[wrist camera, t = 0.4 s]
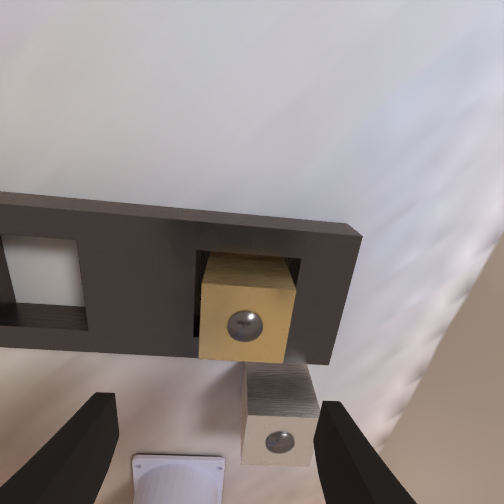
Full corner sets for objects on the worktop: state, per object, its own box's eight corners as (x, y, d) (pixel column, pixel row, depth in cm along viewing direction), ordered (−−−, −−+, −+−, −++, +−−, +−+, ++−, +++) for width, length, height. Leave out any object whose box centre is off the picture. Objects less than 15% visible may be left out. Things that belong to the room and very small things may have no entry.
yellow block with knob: (272, 310, 20) (283, 364, 15) (208, 306, 19) (198, 360, 15) (282, 251, 18) (296, 291, 13) (211, 245, 18) (201, 284, 13)
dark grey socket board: (319, 340, 21) (328, 365, 19) (-28, 319, 19) (-63, 343, 17) (347, 223, 17) (362, 236, 15) (-70, 184, 16) (-121, 192, 13)
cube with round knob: (295, 400, 23) (309, 468, 18) (240, 398, 23) (240, 466, 18) (304, 357, 21) (323, 419, 17) (246, 354, 21) (247, 416, 16)
